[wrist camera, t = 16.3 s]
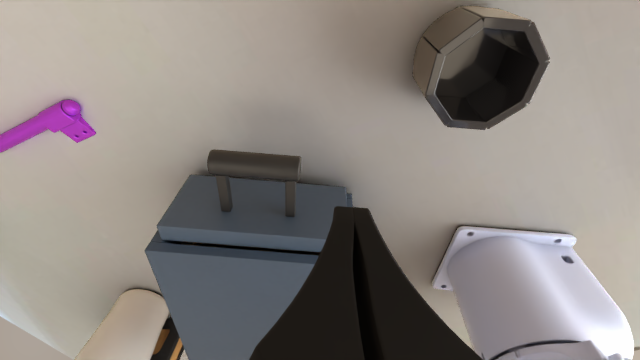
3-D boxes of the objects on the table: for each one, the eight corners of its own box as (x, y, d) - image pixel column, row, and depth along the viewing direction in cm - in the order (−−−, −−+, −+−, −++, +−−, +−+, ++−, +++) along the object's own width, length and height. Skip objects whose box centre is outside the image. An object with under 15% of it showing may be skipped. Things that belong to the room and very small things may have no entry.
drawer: (178, 120, 20) (135, 166, 16) (353, 134, 20) (358, 183, 16) (215, 286, 30) (195, 340, 26) (330, 295, 30) (329, 350, 26)
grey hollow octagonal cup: (525, 9, 16) (569, 23, 13) (487, 103, 19) (515, 132, 16) (426, 1, 16) (447, 13, 13) (404, 96, 19) (416, 124, 16)
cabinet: (189, 180, 24) (144, 250, 18) (352, 193, 24) (356, 267, 18) (215, 291, 32) (189, 362, 27) (334, 300, 32) (333, 373, 27)
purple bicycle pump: (71, 93, 20) (-70, 168, 24) (61, 104, 19) (-83, 179, 24) (107, 123, 22) (-30, 188, 26) (100, 134, 21) (-40, 199, 26)
